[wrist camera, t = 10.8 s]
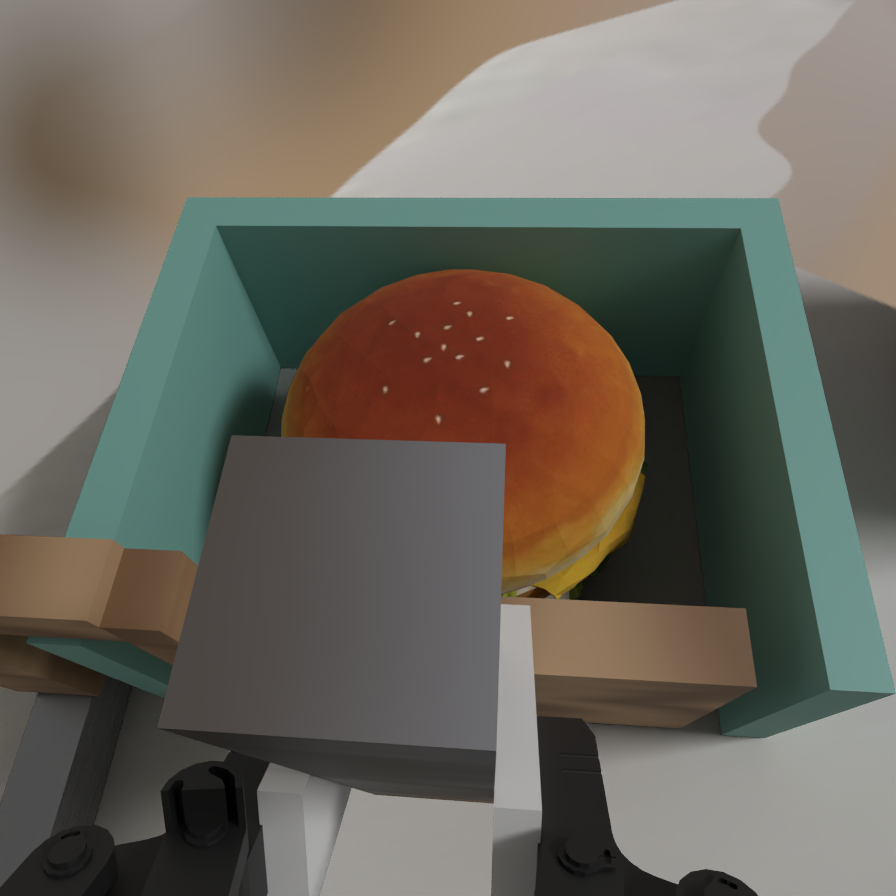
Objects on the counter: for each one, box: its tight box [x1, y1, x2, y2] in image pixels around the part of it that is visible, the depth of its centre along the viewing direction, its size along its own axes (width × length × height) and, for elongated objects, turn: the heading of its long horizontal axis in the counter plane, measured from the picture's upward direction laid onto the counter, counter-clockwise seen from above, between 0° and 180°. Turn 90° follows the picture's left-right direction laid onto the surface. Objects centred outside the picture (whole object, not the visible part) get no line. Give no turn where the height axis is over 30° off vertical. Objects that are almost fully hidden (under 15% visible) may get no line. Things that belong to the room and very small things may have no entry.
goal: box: [27, 198, 896, 738], centre depth 25 cm, size 22×17×9 cm
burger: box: [281, 269, 647, 600], centre depth 25 cm, size 13×14×10 cm
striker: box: [0, 435, 757, 803], centre depth 16 cm, size 23×6×20 cm, turn 86°
